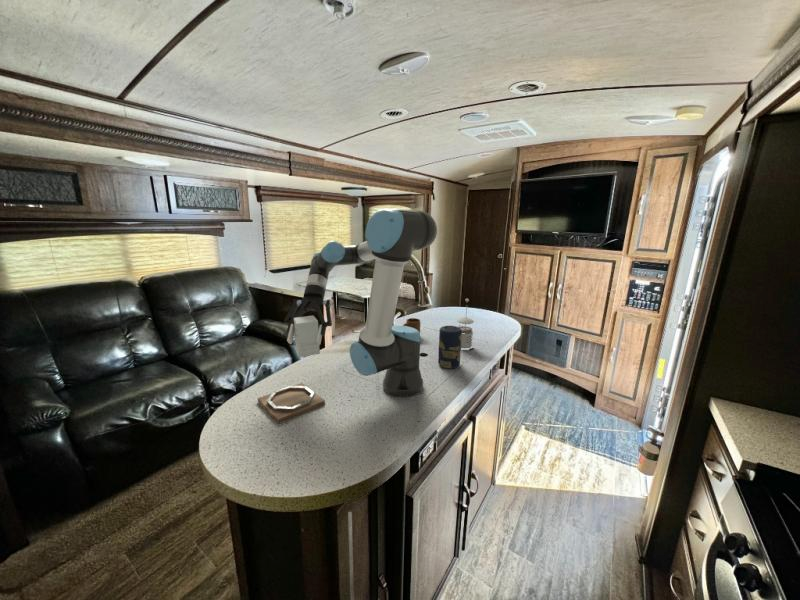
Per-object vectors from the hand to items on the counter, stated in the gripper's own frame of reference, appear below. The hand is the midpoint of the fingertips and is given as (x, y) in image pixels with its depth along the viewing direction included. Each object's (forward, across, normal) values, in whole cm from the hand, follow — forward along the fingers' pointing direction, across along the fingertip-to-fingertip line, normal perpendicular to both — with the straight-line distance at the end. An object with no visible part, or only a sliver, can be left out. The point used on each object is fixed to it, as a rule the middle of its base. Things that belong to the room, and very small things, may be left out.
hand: (303, 342), depth 111 cm
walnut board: (+19, +2, -7) cm, 20 cm away
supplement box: (+1, 0, -6) cm, 6 cm away
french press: (-20, -63, -48) cm, 82 cm away
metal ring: (+18, +2, -6) cm, 19 cm away
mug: (-28, -36, -56) cm, 72 cm away
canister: (-5, -54, -32) cm, 63 cm away
